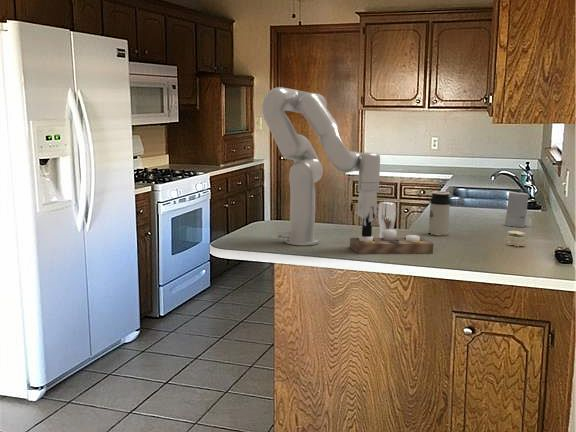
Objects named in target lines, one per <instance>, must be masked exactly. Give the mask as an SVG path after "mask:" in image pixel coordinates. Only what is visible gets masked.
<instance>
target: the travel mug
mask: <svg viewBox="0 0 576 432" xmlns="http://www.w3.org/2000/svg"><path fill="white" fill-rule="evenodd" d="M431 195H432V196H431V199H430V203H429V204H430V205H429V219H428V220H429V221H428V234H429V233H432V234H439V235H445V236H448V235H447V234H449V224H450V223H449V220H450V203H451V201H450V198H449V196H450V192H448V191H435V190H434V191H431Z"/></svg>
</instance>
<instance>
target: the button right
mask: <svg viewBox="0 0 576 432" xmlns="http://www.w3.org/2000/svg"><path fill="white" fill-rule="evenodd" d="M405 238H406V240H407V241H420V238H421V237H420V235H416V234H408V235H405Z"/></svg>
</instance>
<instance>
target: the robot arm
mask: <svg viewBox="0 0 576 432" xmlns="http://www.w3.org/2000/svg"><path fill="white" fill-rule="evenodd" d="M261 108H262V116H263V118H264V121H265V123H266V125H267V127H268V129H269V131H270V133H271V135H272V137H273V139H274V142H275V144H276V146H277V147H278V150H279V152H280V155H282V157H283V158H284V159H287V160H291V161H293V165H292V166H291V167H290V169H289V172H288V174H289V175H288V180H289V189H290V190H289V191H290V193H289V194H290V195H289V196H290V198H289V200H290V204H289V229H287V231H284V232H277V233H276V234H277V235H276V236H277V238H283V239H284V238H285V240H284V241H285V243H286V244H288V245H293V246H303V247H304V246H307V247H308V246H313V245H314V246H315V245H318V243H319V240H318V239H317V238H315V227H316V226H315V224H316V221H315V220H316V187H315V183H318V182H319V181H320V180H321V178H322V177H323V171H324V168H323V166H322V163H321V161H320V158H319V157H318V155H317V152H316V151H315V149H314V147H313V146H312V143H311V141H310V140H309V139H308V138H307V137H306V136H304V135H303V134H298V133H297V131H296V129H295V127H294V126H293V123H292V122H291V120H290V118H289V116H288V115H287V113H286V111H287V112H292V113H293V112H294V113H298V114H301V115H303V117H304V118H305V119H306V122H308V124H309V125H310V127H311V128H312V130H313V131H314V132H315V135H317V137H318V140H319V143H320V144H321V147H322V149H323V152H324V153H325V155H326V156H327V158H328V160H329V161H330V163H331V164H332V165H333V166H334V167H335V169H336V170H337V171H338V172H340V173H344V174H348V173H353V172H358V187H357V188H358V189H357V191H358V198H357V211H356V214H357V216H358V217H360V218H361V219H362V222H361V223H362V224H361V225H362V226H361V235H362V236H363V237H371V236H373V235H372V234H373V233H372V230H373V223H374V219H376V218H377V213H378V212H377V211H378V204H377V203H378V198H377V197H378V195H377V193H378V192H380V173H381V172H380V171H381V169H380V168H381V155H380V154H379V153H378V152H358V151H354V150H353V151H352V150H351V151H349V150H348V148H347V147H346V145H345V144H344V143H343V140H342V139H341V137H340V133H339V125H338V123H337V121H336V120H335V118H334V117H333V116H332V113H331V112H330V110H328V103H327V100H326V98H325V97H324V96H323V95H322V94H320V93H315V92H308V91H302V90H298V89H294V88H293V89H292V88H288V87H280V86H278V87H274V88H272V89H270V90H269V91H268V92H267V94H266V95H265V96H264V98H263V101H262V105H261Z"/></svg>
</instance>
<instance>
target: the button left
mask: <svg viewBox="0 0 576 432" xmlns="http://www.w3.org/2000/svg"><path fill="white" fill-rule="evenodd" d="M358 238H359V241H373V238H374V236H373V235H371V237H363V236H362V234H360V235H359V236H358Z"/></svg>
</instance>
